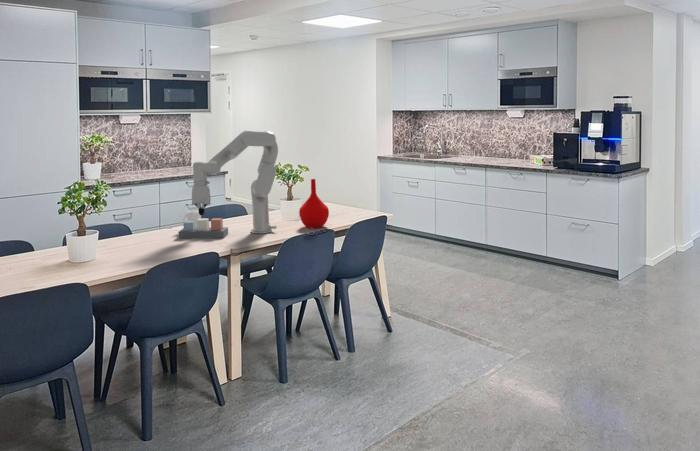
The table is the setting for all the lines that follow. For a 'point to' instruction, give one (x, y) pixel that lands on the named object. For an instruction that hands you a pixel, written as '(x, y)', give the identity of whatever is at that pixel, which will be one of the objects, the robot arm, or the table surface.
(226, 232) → the console
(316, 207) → the vase
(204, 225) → the key ivory
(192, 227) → the key blue
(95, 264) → the table surface
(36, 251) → the table surface
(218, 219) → the key brick
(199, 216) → the mug
